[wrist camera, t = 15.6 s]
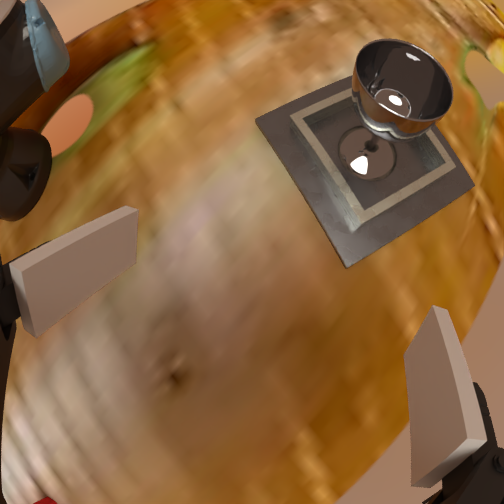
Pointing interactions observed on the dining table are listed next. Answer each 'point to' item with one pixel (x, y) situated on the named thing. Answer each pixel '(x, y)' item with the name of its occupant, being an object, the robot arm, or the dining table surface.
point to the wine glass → (391, 105)
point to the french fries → (46, 501)
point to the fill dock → (352, 188)
